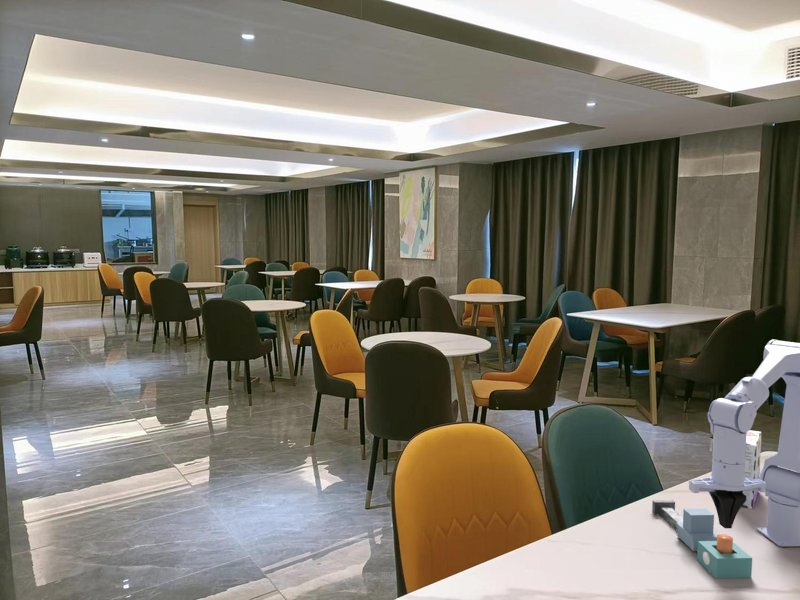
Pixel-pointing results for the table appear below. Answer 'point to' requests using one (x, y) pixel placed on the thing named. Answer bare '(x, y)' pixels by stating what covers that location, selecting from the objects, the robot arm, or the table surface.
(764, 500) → the table surface
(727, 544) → the plunger
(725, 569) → the teal button housing
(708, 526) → the carriage
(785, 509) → the robot arm
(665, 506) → the rail
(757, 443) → the candy box
